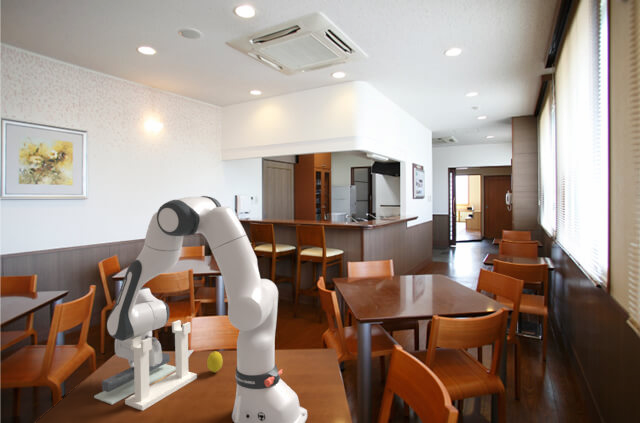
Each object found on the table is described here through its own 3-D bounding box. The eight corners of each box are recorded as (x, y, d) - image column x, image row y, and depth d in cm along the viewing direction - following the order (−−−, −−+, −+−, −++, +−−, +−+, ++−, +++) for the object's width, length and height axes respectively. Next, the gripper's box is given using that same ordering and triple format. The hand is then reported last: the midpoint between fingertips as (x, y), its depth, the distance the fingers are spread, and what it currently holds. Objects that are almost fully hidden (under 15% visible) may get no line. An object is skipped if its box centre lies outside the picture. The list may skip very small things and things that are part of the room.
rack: (196, 378, 128) (196, 321, 127) (142, 410, 108) (141, 343, 107) (180, 373, 131) (179, 318, 131) (125, 404, 112) (123, 339, 111)
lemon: (218, 376, 129) (218, 355, 128) (204, 375, 130) (204, 353, 129) (225, 369, 134) (225, 348, 134) (211, 368, 135) (211, 347, 135)
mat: (178, 369, 135) (178, 367, 135) (111, 404, 111) (111, 402, 111) (161, 364, 139) (161, 362, 139) (94, 397, 115) (94, 395, 115)
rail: (169, 361, 135) (169, 353, 135) (108, 392, 113) (107, 383, 113) (164, 360, 136) (164, 352, 136) (102, 390, 115) (101, 380, 115)
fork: (194, 355, 152) (194, 349, 153) (184, 373, 132) (184, 365, 132) (187, 356, 152) (187, 349, 152) (176, 374, 132) (176, 366, 132)
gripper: (166, 335, 123) (167, 375, 123) (127, 326, 132) (128, 363, 132) (150, 342, 117) (151, 383, 117) (110, 332, 126) (111, 370, 126)
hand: (138, 372), depth 125 cm, fingers closed on rail, 3 cm apart
